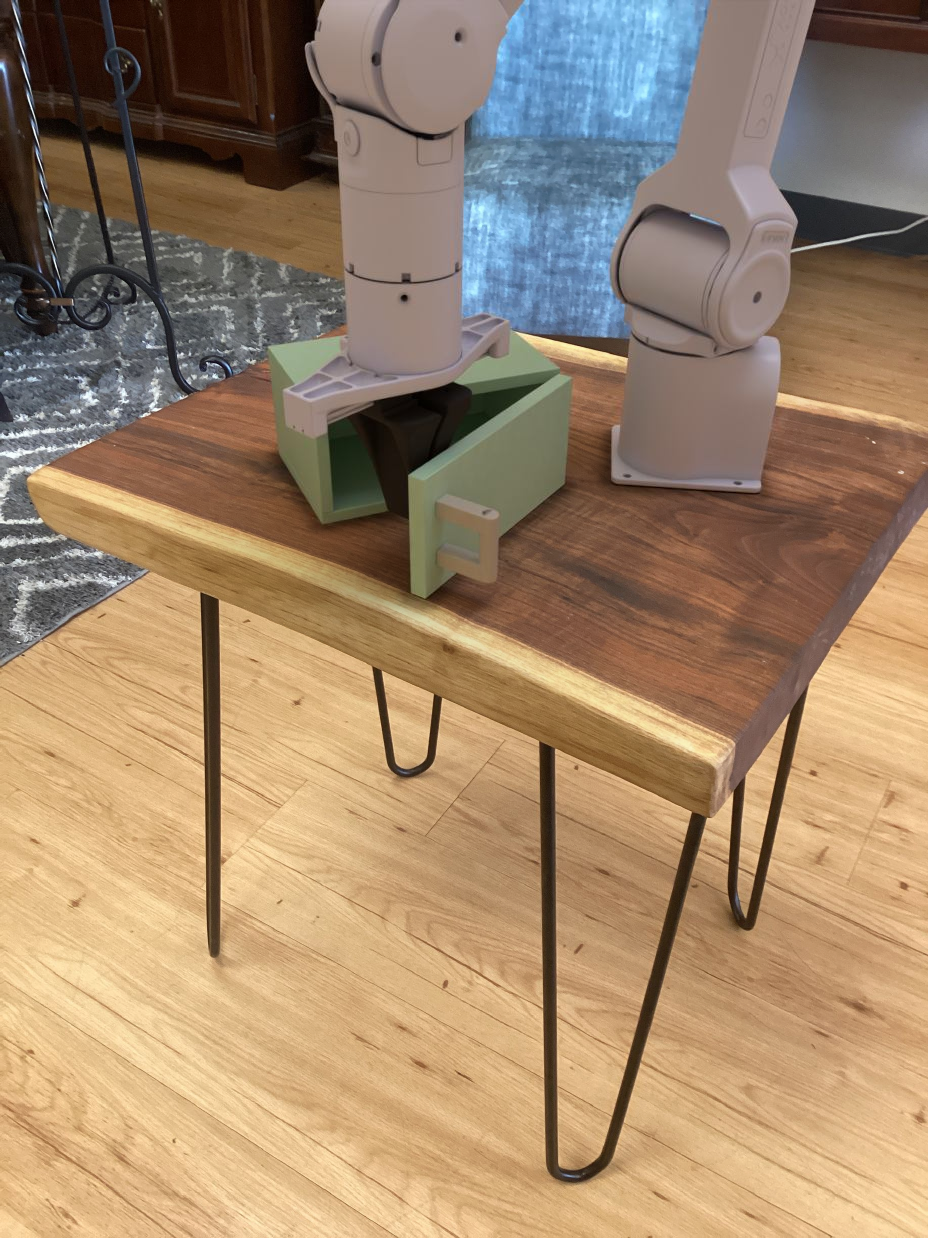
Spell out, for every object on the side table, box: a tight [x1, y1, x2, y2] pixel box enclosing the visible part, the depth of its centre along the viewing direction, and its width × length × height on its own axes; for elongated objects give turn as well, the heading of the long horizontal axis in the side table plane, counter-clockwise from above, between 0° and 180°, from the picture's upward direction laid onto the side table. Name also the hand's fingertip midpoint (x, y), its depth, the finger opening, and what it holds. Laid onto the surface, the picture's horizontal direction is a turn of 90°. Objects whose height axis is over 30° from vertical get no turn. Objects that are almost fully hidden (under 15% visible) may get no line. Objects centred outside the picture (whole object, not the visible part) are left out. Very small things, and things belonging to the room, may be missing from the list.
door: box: [408, 373, 574, 599], centre depth 59 cm, size 4×16×7 cm, turn 147°
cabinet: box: [267, 313, 561, 525], centre depth 67 cm, size 10×16×8 cm, turn 113°
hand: (407, 510), depth 58 cm, fingers closed
